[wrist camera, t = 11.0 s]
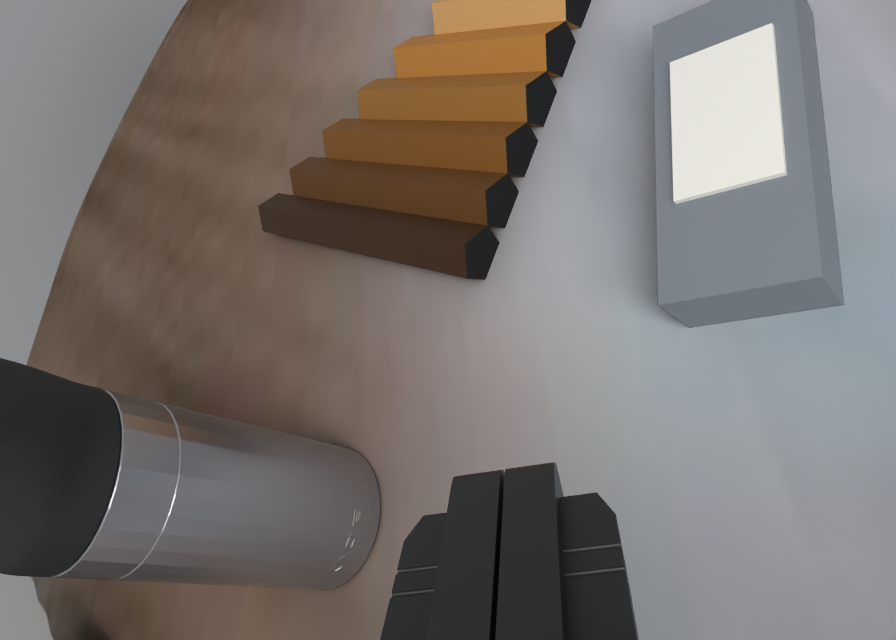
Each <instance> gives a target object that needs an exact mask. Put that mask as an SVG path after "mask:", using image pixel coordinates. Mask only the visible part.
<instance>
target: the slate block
mask: <svg viewBox="0 0 896 640" xmlns="http://www.w3.org/2000/svg"><path fill="white" fill-rule="evenodd" d="M653 61H654V115H655V169H656V223H657V277H658V306H660V307H661V308H663V309H664V310H665V311H667V312H668V313H669V314H671V315H672V316H673V317H675V318H676V319H677V320H679V321H680V322H682V323H683V324H684V325H686V326H687V327H688V328H692V327H698V326H705V325H712V324H719V323H726V322H732V321H739V320H746V319H753V318H759V317H766V316H773V315H780V314H786V313H793V312H800V311H807V310H813V309H820V308H827V307H834V306H840V305H844V297H843V288H842V279H841V270H840V260H839V251H838V242H837V233H836V223H835V214H834V205H833V196H832V186H831V177H830V168H829V159H828V149H827V140H826V131H825V122H824V112H823V103H822V94H821V85H820V76H819V66H818V57H817V48H816V39H815V29H814V20H813V13H812V11H811V8H810V6H809V4H808V2H807V0H714V1H711V2H709V3H707V4H704V5H702V6H700V7H697V8H695V9H693V10H690V11H688V12H686V13H683V14H681V15H679V16H676V17H674V18H672V19H669V20H667V21H665V22H662V23H660V24H658V25H655V26H653Z"/></svg>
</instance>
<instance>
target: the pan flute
mask: <svg viewBox="0 0 896 640" xmlns="http://www.w3.org/2000/svg"><path fill="white" fill-rule="evenodd" d="M590 3H591V0H437V1H435V2H433V3H432V12H433V24H434V35H427V36H418V37H412V38H410V39H409V40H407V41H405V42H403V43H402V44H400V45H398V46H396V47H394V48H393V49H394V58H395V68H396V78H388V79H376V80H374V81H373V82H371V83H369V84H367V85H366V86H364V87H362V88H361V89H359V90H357V94H358V102H359V110H360V118H361V119H341V120H340V121H338V122H336V123H335V124H333V125H331V126H330V127H328V128H327V129H325V130H323V138H324V145H325V152H326V158H316V157H309V158H307V159H305V160H304V161H302V162H301V163H299V164H297V165H296V166H294V167H293V168H291V169H290V175H291V181H292V187H293V193H294V196H293V195H287V194H280V193H278V194H276V195H275V196H273V197H272V198H270V199H268V200H267V201H265V202H264V203H262V204H260V205H259V206H258V207H259V212H260V218H261V223H262V229H263V231H265V232H269V233H273V234H278V235H282V236H286V237H291V238H295V239H299V240H304V241H308V242H312V243H317V244H321V245H325V246H329V247H334V248H338V249H342V250H347V251H351V252H355V253H360V254H364V255H368V256H373V257H377V258H381V259H385V260H390V261H394V262H398V263H403V264H407V265H411V266H416V267H420V268H424V269H429V270H433V271H437V272H442V273H446V274H450V275H454V276H459V277H463V278H468V279H486V277H487V274H488V271H489V269H490V266H491V263H492V261H493V258H494V255H495V253H496V250H497V248H498V245H499V242H498V240H497V239H496V237H495V236H494V234H493V233H492V231H491V230H490V229H489V227H488V226H494V227H501V228H505V227H506V224H507V221H508V219H509V216H510V213H511V211H512V208H513V205H514V203H515V200H516V198H517V195H518V192H519V191H518V190H517V188H516V186H515V185H514V183H513V182H512V180H511V178H510V177H509V176H517V177H525V174H526V171H527V169H528V166H529V163H530V161H531V158H532V155H533V153H534V150H535V148H536V145H537V142H538V140H537V139H536V137H535V135H534V133H533V131H532V130H531V128H530V127H543V126H544V124H545V121H546V119H547V116H548V113H549V111H550V108H551V105H552V103H553V100H554V98H555V95H556V92H557V90H556V88H555V87H554V85H553V83H552V81H551V79H550V78H551V77H562V76H563V74H564V71H565V69H566V66H567V63H568V61H569V58H570V55H571V53H572V50H573V47H574V45H575V39H574V37H573V35H572V33H571V31H570V29H575V28H581V26H582V24H583V21H584V19H585V16H586V13H587V11H588V8H589V5H590Z"/></svg>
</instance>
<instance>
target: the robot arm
mask: <svg viewBox="0 0 896 640" xmlns="http://www.w3.org/2000/svg"><path fill="white" fill-rule="evenodd" d="M379 517H380V496H379V489H378V484H377V481H376V478H375V474H374V472H373V470H372V468H371V467H370V465H369V463H368V462H367V461H366V459H365V458H364V457H363V456H362V455H361V454H359V453H358V452H356V451H354V450H353V449H349V448H345V447H341V446H337V445H333V444H329V443H325V442H321V441H317V440H313V439H309V438H305V437H301V436H297V435H293V434H289V433H285V432H281V431H276V430H272V429H268V428H264V427H260V426H256V425H251V424H247V423H243V422H239V421H235V420H231V419H226V418H222V417H218V416H214V415H210V414H206V413H201V412H197V411H193V410H189V409H185V408H181V407H176V406H172V405H168V404H164V403H160V402H154V401H150V400H146V399H142V398H138V397H134V396H129V395H125V394H121V393H117V392H113V391H109V390H104V389H100V388H96V387H92V386H87V385H83V384H79V383H76V382H73V381H70V380H67V379H64V378H61V377H58V376H56V375H53V374H50V373H47V372H44V371H42V370H39V369H36V368H33V367H30V366H26V365H23V364H20V363H16V362H13V361H9V360H5V359H2V358H0V573H2V574H8V575H16V576H34V577H55V578H76V579H98V580H126V581H147V582H169V583H190V584H211V585H233V586H254V587H272V588H294V589H316V590H328V589H333V588H337V587H339V586H341V585H342V584H344V583H346V582H347V581H349V580H350V579H351V578H352V577H353V576H354V575H355V574H356V573H357V572H358V570H359V569H360V568H361V566H362V565H363V564H364V562H365V561H366V559H367V557H368V555H369V553H370V551H371V549H372V546H373V543H374V540H375V537H376V534H377V529H378V523H379ZM397 570H398V574H396V577H395V581H394V585H393V589H392V598H390V602H389V606H388V610H387V614H386V618H385V622H384V627H383V631H382V635H381V639H380V640H639V639H638V633H637V628H636V622H635V616H634V610H633V604H632V599H631V593H630V588H629V583H628V577H627V572H626V567H625V561H624V556H623V551H622V545H621V540H620V535H619V529H618V524H617V519H616V514H615V513H614V512H613V511H612V509H611V508H610V507H609V506H608V505H607V504H606V503H605V502H604V500H603V499H602V498H601V497H600V496H599V495H598V494H597V493H590V494H582V495H575V496H567V497H563V492H562V488H561V483H560V479H559V474H558V470H557V466H556V464H555V462H553V463H546V464H539V465H532V466H525V467H518V468H511V469H506V470H505V473H504V471H503V470H498V471H491V472H484V473H477V474H470V475H463V476H456V477H454V478H453V481H452V485H451V491H450V497H449V503H448V509H447V513H440V514H433V515H425V516H423V517H422V518H421V519H420V521H419V522H418V523H417V525H416V526H415V527H414V529H413V530H412V531H411V533H410V534H409V535H408V537H407V538H406V539H405V541H404V543H403V548H402V552H401V556H400V560H399V564H398V568H397Z"/></svg>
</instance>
